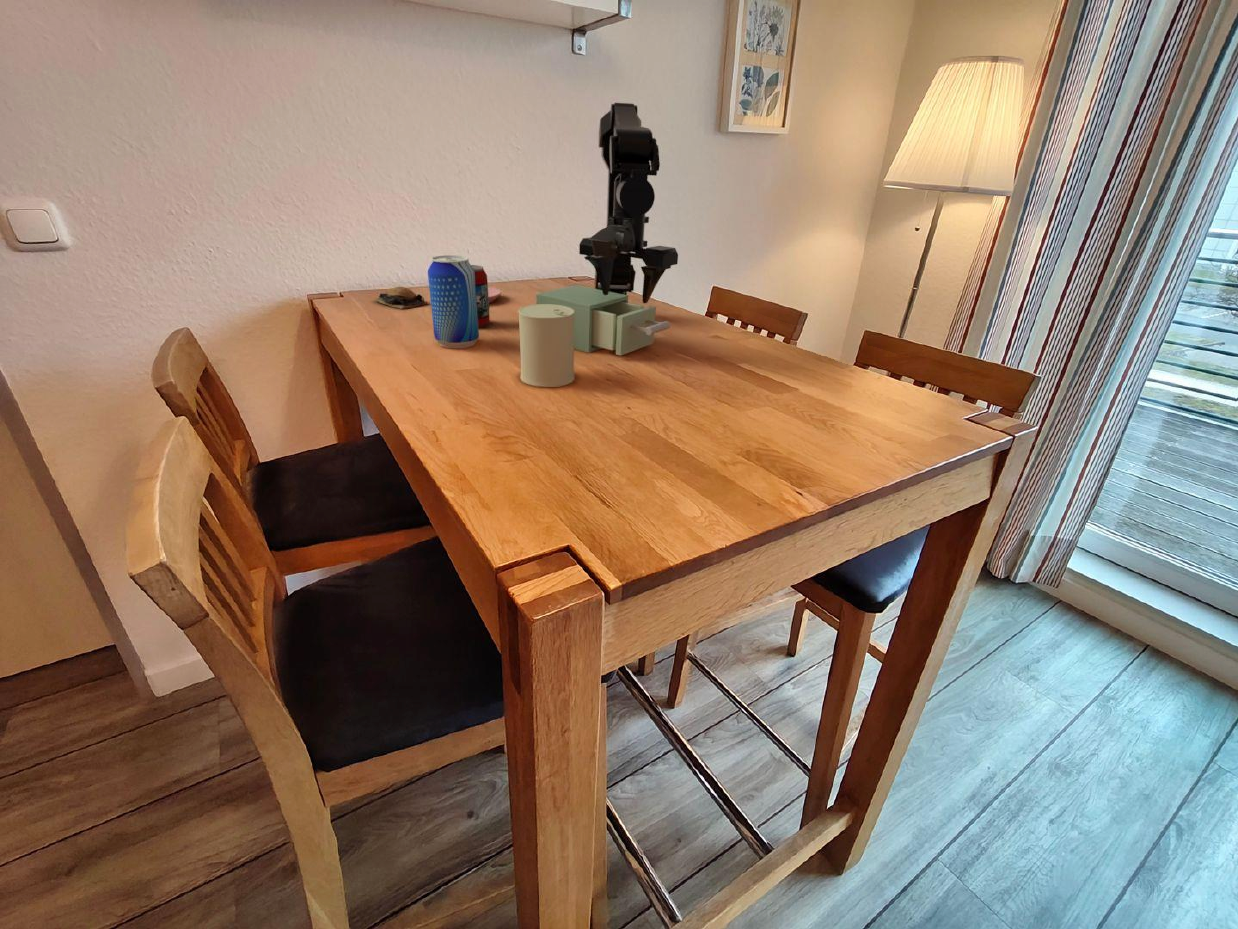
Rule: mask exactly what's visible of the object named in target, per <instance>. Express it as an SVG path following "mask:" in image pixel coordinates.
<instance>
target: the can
mask: <svg viewBox="0 0 1238 929" xmlns="http://www.w3.org/2000/svg"><path fill="white" fill-rule="evenodd" d="M517 312H518V313H517V314H518V324H519V326H518V327H519V350H520V352H519V353H520V375H519V377H520V381H522V382H523V383H524V384H526V385H527V386H528V385H529V386H532V387H537V388H559V387H562V386H563V387H564V386H566V385H569V384H571V383H573V382H574V381H575V369H574V368H575V367H574V366H575V365H574V364H575V363H574V362H575V361H574V360H575V359H574V358H575V356H574V352H575V349H574V314H575V311H574V310H573V309H572V308H569V307H566V306H562V305H554V304H537V303H536V304H535V303H534V304H528V305H524V306H521V307H519V309H518V310H517Z"/></svg>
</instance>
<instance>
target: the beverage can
mask: <svg viewBox="0 0 1238 929" xmlns="http://www.w3.org/2000/svg"><path fill="white" fill-rule="evenodd" d="M470 265H471V266H472V268H473V269H474V272H475V286H476V300H477V315H478V328H482V327H485V326H486V325H488V323H490V320H491V319H490V303H489V298H488V287H489V284H488V283H489V282H488V274H487V273H486V271H485V270H484V266H482V265H477V264H470Z"/></svg>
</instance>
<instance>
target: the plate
mask: <svg viewBox="0 0 1238 929" xmlns="http://www.w3.org/2000/svg"><path fill="white" fill-rule="evenodd" d="M501 294H502V291H501V289H499V288H496V287H493V286H488V298H489V304H491V303H492V302H494V301H495V300H496V299H497V298H498V297H500V295H501Z"/></svg>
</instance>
